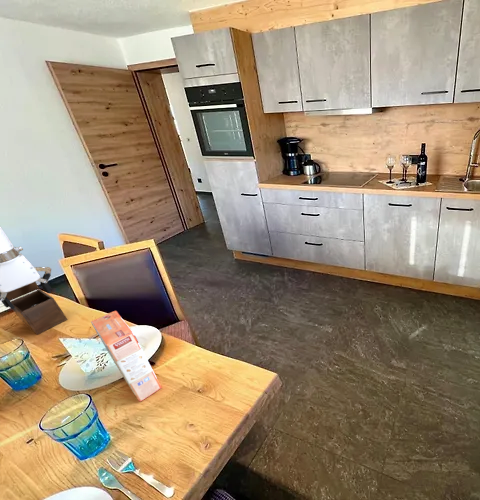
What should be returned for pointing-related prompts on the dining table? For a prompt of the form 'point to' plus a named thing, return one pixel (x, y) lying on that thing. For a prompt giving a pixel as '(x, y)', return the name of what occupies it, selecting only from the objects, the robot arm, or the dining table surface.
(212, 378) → the dining table surface
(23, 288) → the lid
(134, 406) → the dining table surface
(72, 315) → the dining table surface
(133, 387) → the cracker box
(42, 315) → the chest
